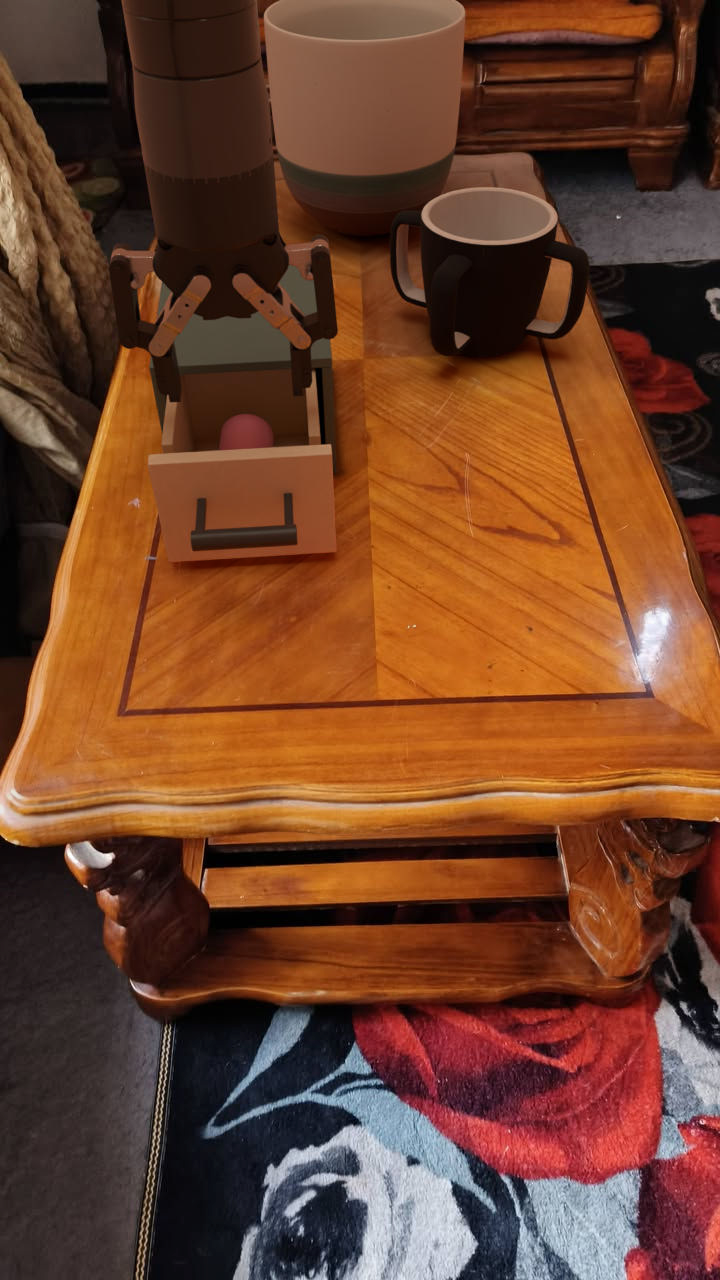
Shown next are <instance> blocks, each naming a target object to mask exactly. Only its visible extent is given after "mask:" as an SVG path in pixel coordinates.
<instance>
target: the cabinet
mask: <svg viewBox="0 0 720 1280" xmlns="http://www.w3.org/2000/svg"><path fill="white" fill-rule="evenodd" d="M279 284H280V285H281V286H282V287H283V288H284V289H285V290H286V291H287V293H288V294H289V296H290V298H291V300H292V301H293V302H294V303H295V305H296V306H297V307H298V308H299V309H300V310H301V311H302V312H303V313H304V314H305V316H307V315H310V314H312V313H315V312H317V306H316V297H315V288H314V280H312V281H308V280H305V279H303V278H302V276H301V274H300V271H299V269H298V268H297V267H295V266H293V265H289V266H288V269H287V271H286V272H285V274H284V275H283V277H282V279H281V280H280V282H279ZM171 292H172V291H171V290H170V289H169V288H168V287H167V286H166V285H165V284H164V283H163V282H162V281H161V286H160V293H159V298H158V299H159V300H158V305H157V313H156V319H157V317H158V316H159V314H160V312H161V311H162V309H163V308H164V306H165V303H166V301H167V299H168V297H169V295H170V293H171ZM156 319H155V320H156ZM174 344H175V350H176V356H177V362H178V368H179V374H180V375H189V374H207V373H226V372H245V371H263V370H282V369H291V357H290V341H289V339H288V338H287V337H286V336H285V335H284V334H283V333H282V332H281V331H280V330H279V329H275V328H274V327H273V326H272V325H271V324H270V323H269V322H268V321H267V320H266V319H265V318H264V317H263V316H262V315H261V314H260V312H259V311H258V312H256V313H254V314H252V315H251V318H241V319H239V318H234V317H229V316H226V317H222V318H219V319H216V320H203V317H201V316H198V315H196V314H194V313H193V315H192V316H191V318H190V320H189V321H188V323H187V324H186V326H185V327H184V329H183V331H182V332H181V333H180V334H178V335H177V337H176V338H175V340H174ZM331 344H332V343H331V339H324V338H322V339H319V340H317V341H315V342H314V343H313V344H312V346H311V364H312V368H315V374H316V387H317V400H318V413H319V426H320V440H321V445H325V444H331V448H332V463H333V474H337V473H338V469H337V465H338V464H337V445H336V443H337V442H336V421H335V420H336V419H335V417H336V416H335V397H334V394H335V393H334V373H333V370H334V369H333V355H332V346H331ZM148 370H149V375H150V379H151V384H152V388H153V394H154V395H153V396H154V399H155V400H154V401H155V405H156V410H157V415H158V418H159V419H158V420H159V424H160V430H161V435H162V434H163V426H164V418H165V410H166V401H167V395H162V394H161V393H160V391H159V390H158V387H157V382H156V377H155V372H154V366H153V361H152V357H151V356H150V359H149V366H148Z"/></svg>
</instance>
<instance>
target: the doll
mask: <svg viewBox="0 0 720 1280" xmlns="http://www.w3.org/2000/svg"><path fill="white" fill-rule="evenodd" d="M273 446H274V435H273V431H272V429H271V427H270V426H269V424H268V423H267V422H266V421H265V420H263V419H262V418H260V417H258V416H255V415H251V414H240V415H236V416H234V417H232V418H230V419H229V420H227V421H226V422H225V424H224V425H223V427H222V429H221V434H220V444H219V450H237V449H254V448H272V447H273Z"/></svg>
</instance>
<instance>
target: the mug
mask: <svg viewBox="0 0 720 1280" xmlns="http://www.w3.org/2000/svg"><path fill="white" fill-rule="evenodd" d="M558 224H559V216H558V213H557V211H556V209H555V208H554V206H552V205H551V204H550V203H548V201H546V200H544V199H542V198H541V197H539V196H537V195H534V194H531V193H528V192H525V191H521V190H517V189H514V188H513V189H511V188H504V187H491V186H488V187H487V186H482V187H481V186H480V187H479V186H478V187H469V188H462V189H456V190H452V191H448V192H446V193H443V194H440V195H439V196H438V197H436V198H435V199H433V200H431V201H430V202H429V203H427V204H426V206H425V207H424V208H423V210H422V212H421V211H411V210H405V211H402V212H400V213H398V214H397V215H396V217H395V218H394V220H393V222H392V225H391V228H390V233H389V264H390V265H389V266H390V275H391V279H392V282H393V284H394V287H395V289H396V291H397V293H398V295H399V296H400V297H401V299H403V300H404V301H405V302H406V303H409V304H412V305H414V306H417V307H420V308H424V309H426V311H427V316H428V322H429V332H430V333H429V334H430V341H431V345H432V348H433V349H434V350H435V352H436V353H437V354H439V355H441V356H444V357H454V356H455V357H456V356H457V355H459V354H461V355H464V356H470V357H484V358H485V357H486V358H487V357H495V356H500V355H504V354H507V353H509V352H512V351H514V350H515V349H517V348H520V347H521V345H523V344H524V342H525V341H526V340H527V338H528V336H530V337H535V338H539V339H546V340H558V339H561V338H563V337H565V336H567V335H568V334H569V333H570V332H571V331H572V330H573V328H575V325H576V324H577V322H578V321H579V319H580V317H581V316H582V315H581V314H582V312H583V309H584V306H585V301H586V295H587V291H588V285H589V278H590V269H591V264H590V259H589V256H588V253H587V252H586V251H585V250H584V249H583V248H581V247H578V246H575V245H573V244H569V243H566V242H563V241H559V240H556V239H557V230H558ZM409 226H410V227H414V228H419V229H420V239H419V240H420V241H419V242H420V261H421V262H420V263H421V275H422V283H423V288H420V287H418V286H417V285H415V283H414V281H413V278H412V277H411V273H410V270H409V269H410V268H409V260H408V259H409V258H408V239H409ZM553 259H554V260H559V261H561V262H566V263H567V264H569V265H570V280H569V287H568V294H567V299H566V305H565V309H564V313H563V315H562V317H561V318H560V319H559V321H557V322H556V321H555V322H553V321H549V320H544V319H539V318H536V317H537V314H538V311H539V309H540V307H541V302H542V299H543V295H544V292H545V287H546V284H547V281H548V277H549V273H550V269H551V265H552V260H553Z"/></svg>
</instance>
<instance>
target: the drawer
mask: <svg viewBox="0 0 720 1280" xmlns="http://www.w3.org/2000/svg"><path fill="white" fill-rule="evenodd" d="M180 380H181V389H182V391H181V401H180V402H172V403H170V401H169V396H168V395H167V401H166V410H165V418H164V426H163V434H162V433H161V442H160V443H161V444H160V447H161V450H162V453H150V454H149V455H148V459H147V468H148V473H149V477H150V482H151V487H152V491H153V497H154V500H155V505H156V509H157V515H158V519H159V524H160V528H161V529H160V530H161V533H162V538H163V543H164V547H165V551H166V555H167V561H168V563H177V562H193V561H194V562H195V561H209V560H226V559H227V560H229V559H243V558H244V559H245V558H261V557H276V556H289V555H290V556H291V555H292V556H293V555H307V554H309V555H310V554H323V553H325V554H327V553H336V552H337V551H338V550H337V531H336V510H335V487H334V473H333V463H332V448H331V444H325V445H321V440H320V426H319V413H318V400H317V387H316V374H315V368H312V384H311V386H310V388H303V396H295V397H293V384H292V370H291V369H282V370H263V371H245V372H226V373H207V374H189V375H180ZM240 414H251V415H255V416H258V417H260V418H262V419H263V420H265V421H266V422H267V423H268V424H269V426H270V427H271V429H272V431H273V435H274V446H273V447H272V448H254V449H237V450H219V444H220V434H221V429H222V427H223V425H224V424H225V422H226V421H227V420H229V419H230V418H232V417H234V416H236V415H240Z"/></svg>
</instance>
